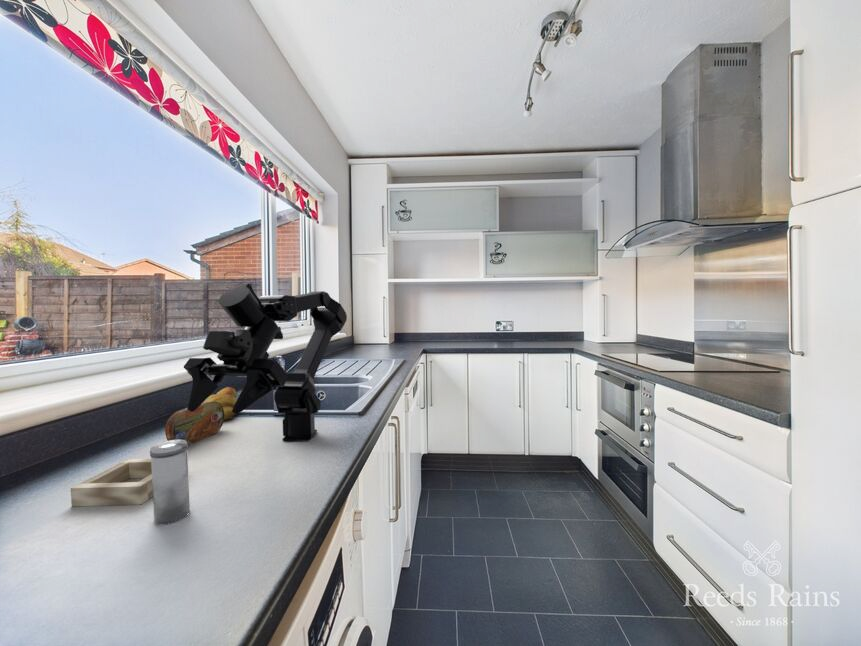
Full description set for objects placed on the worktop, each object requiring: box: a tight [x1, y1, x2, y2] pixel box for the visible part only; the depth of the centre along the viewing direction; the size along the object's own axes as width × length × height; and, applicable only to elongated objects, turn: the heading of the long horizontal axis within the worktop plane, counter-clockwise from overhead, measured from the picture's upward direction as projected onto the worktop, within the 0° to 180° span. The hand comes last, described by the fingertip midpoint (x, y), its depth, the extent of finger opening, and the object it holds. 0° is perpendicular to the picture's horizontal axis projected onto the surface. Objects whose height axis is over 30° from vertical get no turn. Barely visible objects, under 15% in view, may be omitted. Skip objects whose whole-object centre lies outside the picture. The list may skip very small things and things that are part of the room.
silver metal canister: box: [149, 440, 191, 525], centre depth 54 cm, size 5×5×11 cm
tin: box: [164, 401, 225, 447], centre depth 87 cm, size 15×3×8 cm, turn 168°
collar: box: [70, 458, 153, 507], centre depth 63 cm, size 11×11×3 cm
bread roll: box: [203, 386, 237, 421], centre depth 105 cm, size 13×10×8 cm
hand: (211, 412), depth 62 cm, fingers open, 9 cm apart
